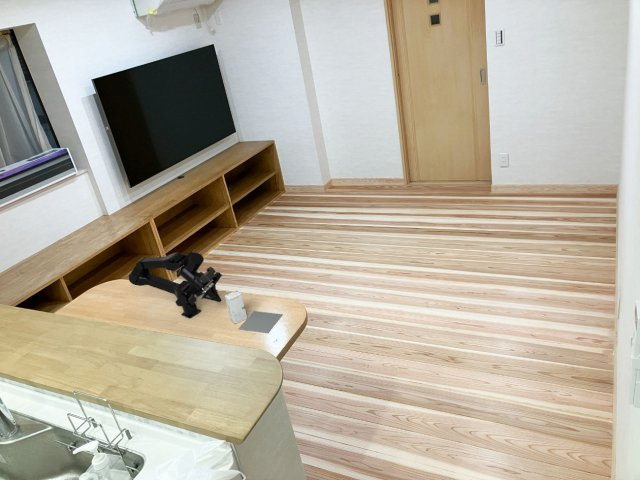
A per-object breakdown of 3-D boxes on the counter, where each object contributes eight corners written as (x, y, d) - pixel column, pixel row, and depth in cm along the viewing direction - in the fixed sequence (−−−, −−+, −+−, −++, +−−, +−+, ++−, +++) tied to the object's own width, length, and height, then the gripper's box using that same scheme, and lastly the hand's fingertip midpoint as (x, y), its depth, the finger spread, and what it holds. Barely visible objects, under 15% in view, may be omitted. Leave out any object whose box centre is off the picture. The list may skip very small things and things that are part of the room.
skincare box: (235, 324, 214) (228, 299, 209) (230, 320, 218) (223, 295, 213) (248, 318, 217) (241, 293, 212) (243, 313, 221) (237, 289, 215)
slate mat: (238, 329, 211) (238, 328, 211) (254, 311, 221) (254, 310, 221) (268, 333, 205) (267, 332, 205) (282, 314, 215) (282, 314, 215)
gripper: (186, 277, 205) (216, 303, 205) (213, 254, 220) (240, 279, 220) (176, 292, 211) (205, 317, 211) (202, 269, 226) (229, 293, 226)
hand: (220, 301), depth 217 cm, fingers closed
